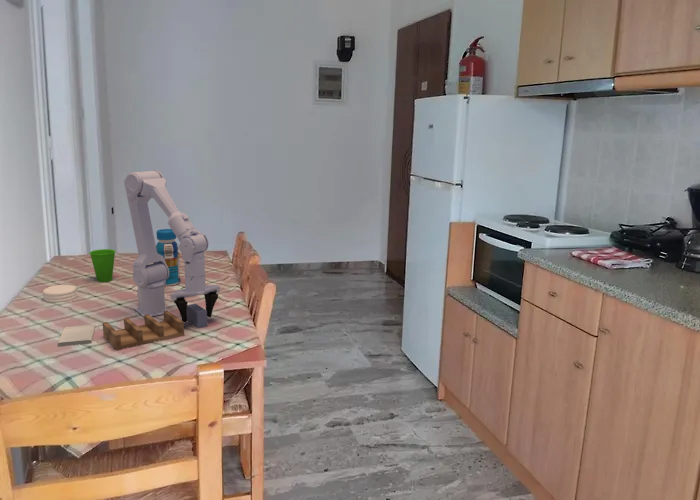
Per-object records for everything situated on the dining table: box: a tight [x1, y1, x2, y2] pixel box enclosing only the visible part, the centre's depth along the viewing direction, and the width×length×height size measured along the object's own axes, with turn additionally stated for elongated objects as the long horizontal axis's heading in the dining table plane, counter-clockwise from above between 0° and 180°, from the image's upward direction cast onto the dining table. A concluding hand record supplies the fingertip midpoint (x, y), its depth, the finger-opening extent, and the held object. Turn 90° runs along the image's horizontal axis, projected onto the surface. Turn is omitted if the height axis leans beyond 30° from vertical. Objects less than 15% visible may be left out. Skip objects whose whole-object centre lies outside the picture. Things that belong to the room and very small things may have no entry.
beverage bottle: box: [155, 228, 181, 287], centre depth 205 cm, size 8×8×20 cm
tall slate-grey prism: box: [187, 303, 208, 329], centre depth 166 cm, size 8×3×5 cm, turn 38°
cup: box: [89, 248, 117, 283], centre depth 208 cm, size 9×9×11 cm
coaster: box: [42, 284, 78, 303], centre depth 187 cm, size 10×10×4 cm
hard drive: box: [57, 324, 96, 348], centre depth 154 cm, size 2×8×12 cm
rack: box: [102, 309, 185, 351], centre depth 156 cm, size 12×18×4 cm, turn 129°
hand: (196, 318), depth 166 cm, fingers open, 7 cm apart
